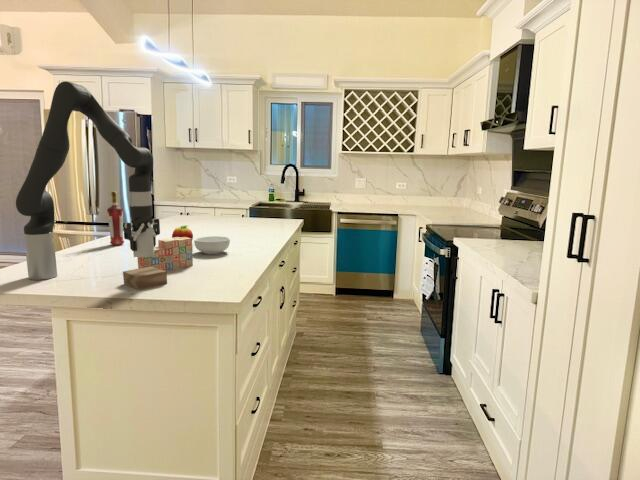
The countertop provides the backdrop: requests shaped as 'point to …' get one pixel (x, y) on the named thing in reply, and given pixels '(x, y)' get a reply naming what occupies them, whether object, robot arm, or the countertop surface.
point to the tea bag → (145, 244)
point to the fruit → (182, 232)
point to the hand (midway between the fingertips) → (143, 248)
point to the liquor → (115, 221)
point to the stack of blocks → (169, 254)
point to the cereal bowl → (212, 244)
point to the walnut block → (145, 277)
